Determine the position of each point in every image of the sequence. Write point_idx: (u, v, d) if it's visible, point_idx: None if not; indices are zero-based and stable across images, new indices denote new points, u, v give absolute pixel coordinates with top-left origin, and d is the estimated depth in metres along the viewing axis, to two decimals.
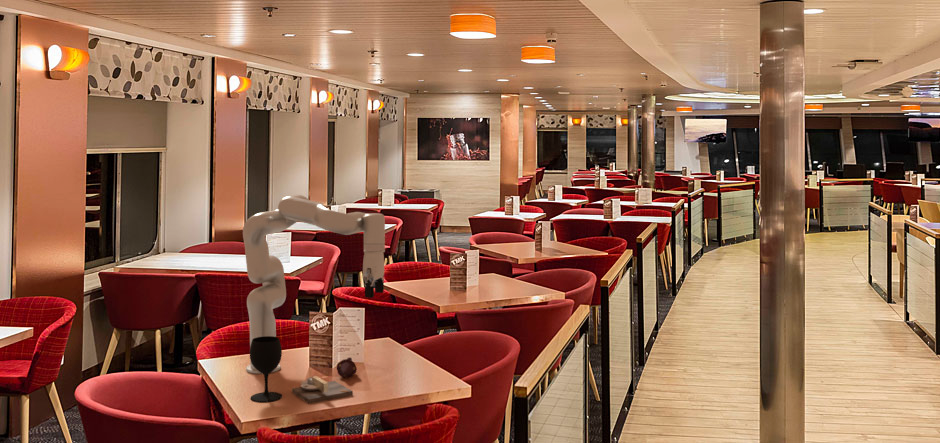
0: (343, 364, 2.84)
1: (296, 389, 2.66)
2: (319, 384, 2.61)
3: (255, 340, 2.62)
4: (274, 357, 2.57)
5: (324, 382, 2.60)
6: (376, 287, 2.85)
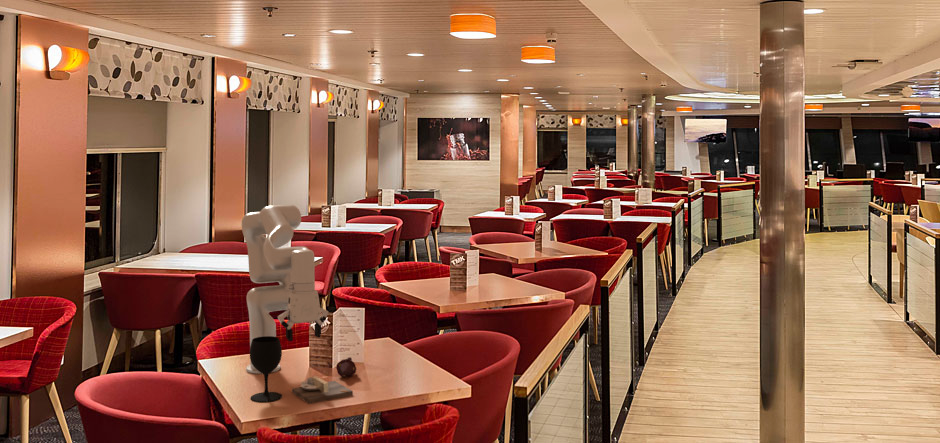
0: (343, 364, 2.84)
1: (296, 389, 2.66)
2: (319, 384, 2.61)
3: (255, 340, 2.62)
4: (274, 357, 2.57)
5: (324, 382, 2.60)
6: None
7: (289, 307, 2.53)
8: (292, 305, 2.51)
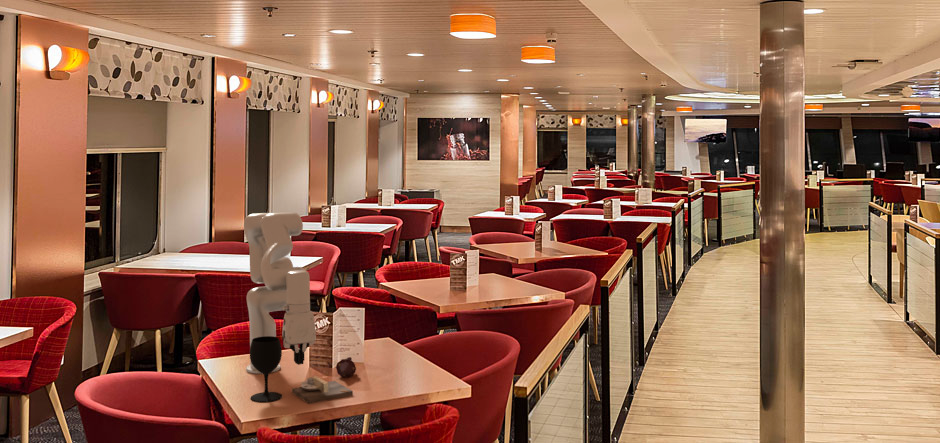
0: (342, 364, 2.85)
1: (296, 389, 2.66)
2: (319, 384, 2.61)
3: (255, 340, 2.62)
4: (274, 357, 2.57)
5: (324, 382, 2.60)
6: None
7: (284, 328, 2.52)
8: (287, 326, 2.50)
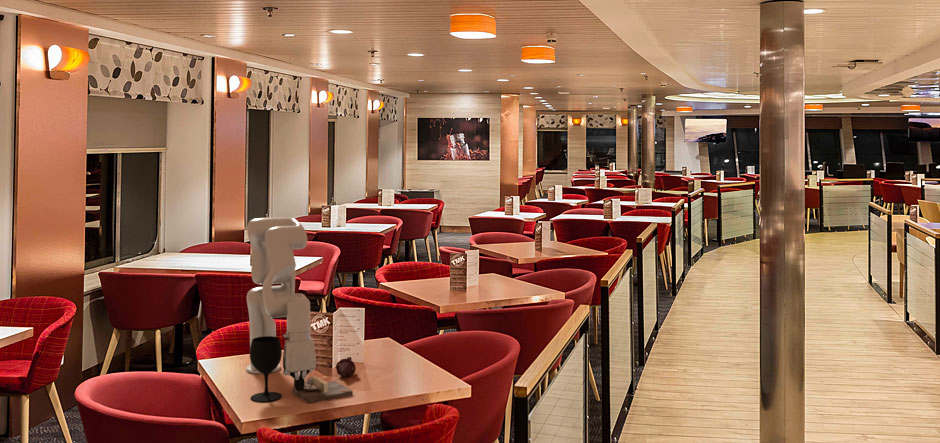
0: (342, 363, 2.85)
1: None
2: (319, 384, 2.61)
3: (255, 340, 2.62)
4: (274, 357, 2.57)
5: (324, 382, 2.60)
6: None
7: (285, 356, 2.53)
8: (288, 354, 2.51)
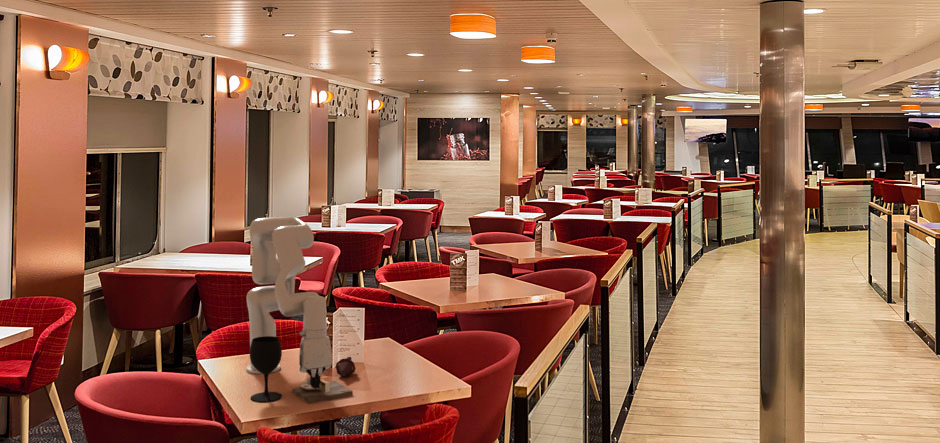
0: (342, 363, 2.85)
1: (296, 389, 2.66)
2: (320, 384, 2.62)
3: (255, 340, 2.62)
4: (274, 357, 2.57)
5: (325, 381, 2.60)
6: None
7: (301, 353, 2.56)
8: (304, 352, 2.55)
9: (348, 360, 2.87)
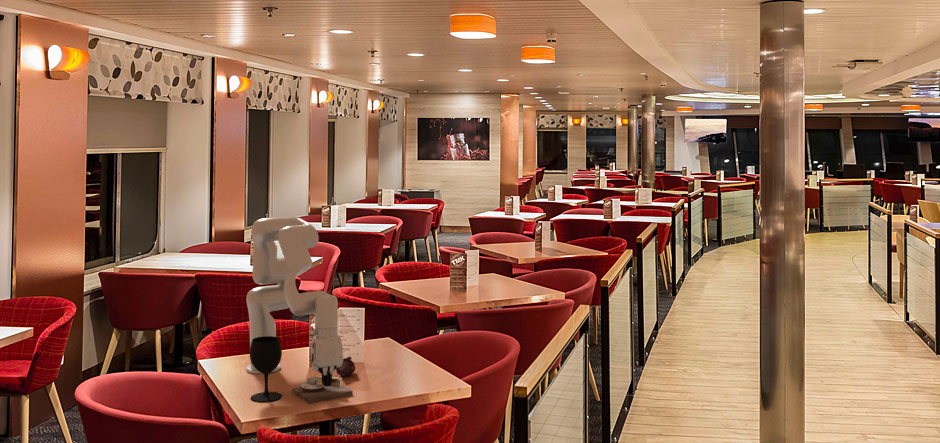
0: None
1: (296, 389, 2.66)
2: None
3: (255, 340, 2.62)
4: (274, 357, 2.57)
5: (337, 377, 2.65)
6: None
7: (313, 352, 2.58)
8: (316, 350, 2.57)
9: (348, 360, 2.87)
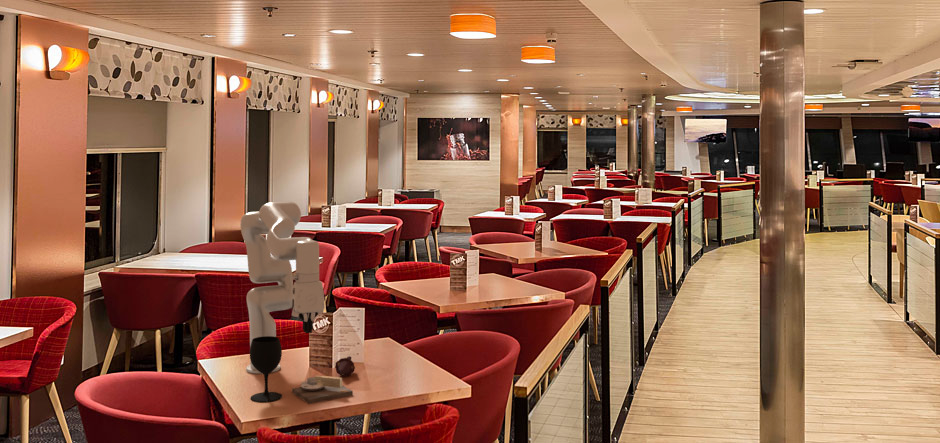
0: (341, 363, 2.86)
1: (296, 389, 2.66)
2: (330, 382, 2.65)
3: (255, 340, 2.62)
4: (274, 357, 2.57)
5: (337, 377, 2.65)
6: None
7: (293, 297, 2.54)
8: (296, 295, 2.53)
9: (347, 360, 2.87)
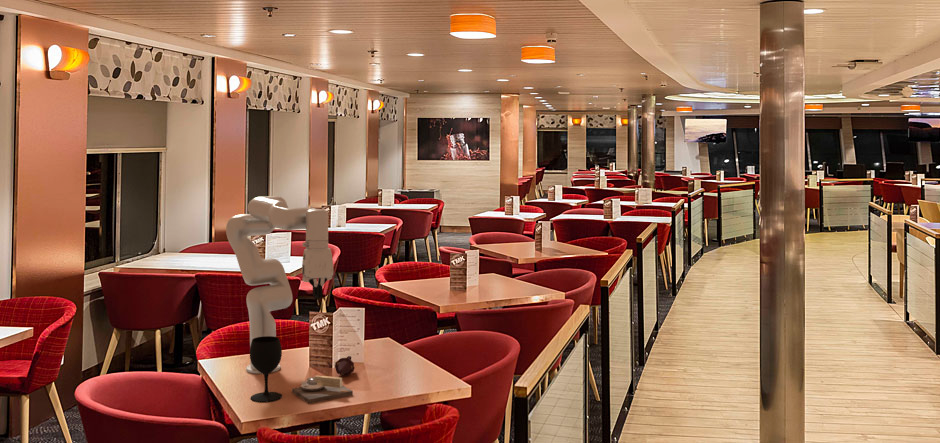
0: (341, 362, 2.86)
1: (296, 389, 2.66)
2: (330, 382, 2.65)
3: (255, 340, 2.62)
4: (274, 357, 2.57)
5: (337, 377, 2.65)
6: None
7: (304, 263, 2.66)
8: (307, 261, 2.65)
9: (347, 359, 2.88)
